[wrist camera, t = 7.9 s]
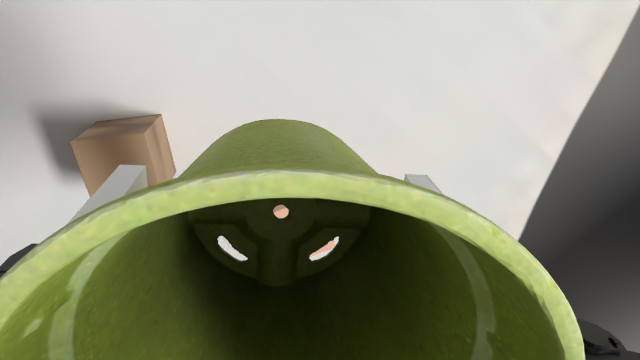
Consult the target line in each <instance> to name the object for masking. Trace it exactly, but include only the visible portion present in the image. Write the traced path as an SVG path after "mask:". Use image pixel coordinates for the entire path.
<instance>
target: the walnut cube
mask: <svg viewBox="0 0 640 360" xmlns="http://www.w3.org/2000/svg"><path fill="white" fill-rule="evenodd" d="M70 144H71V146H72V149H73V152H74V155H75V157H76V160H77V163H78V166H79V168H80V171H81V174H82V177H83V179H84V182H85V185H86V188H87V190H88V193H89V196H90V198H91V197H92V196H93V194H94V193H95V192H96V191H97V190H98V189H99V188H100V187H101V185H102V184H103V183H104V182H105V181H106V180H107V179H108V177H109V176H110V175H111V174H112V173H113V172H114V171H115V170H116V168H117V167H118V166H119V165H146V173H147V183H148V187H150V186H153V185H156V184H159V183H162V182H165V181H168V180H172V178H173V176H174V175H175V173H176V169H175V165H174V161H173V157H172V154H171V150H170V146H169V142H168V138H167V134H166V130H165V127H164V123H163V119H162V115H161V114H160V115H151V116H143V117H134V118H125V119H117V120H108V121H100V122H96V123H95V124H94V125H92V126H91V127H90V128H88V129H87V130H85V131H84V132H83V133H81V134H80V135H79V136H77V137H76V138H75V139H73V140H72V141H70Z"/></svg>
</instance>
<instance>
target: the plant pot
mask: <svg viewBox="0 0 640 360" xmlns="http://www.w3.org/2000/svg"><path fill="white" fill-rule="evenodd" d="M278 205H284V206H285V207H286V208H287V209H288V210H289V212H288V215H287V216H286V217H285V218H278V217H276V216H275V215H274V212H273V209H274V208H275V207H276V206H278ZM219 236H224V237H225V238H226V239H227V240H228V241H229V243H230V244H231V245H232V247H233V248H234V249H236V250H237V251H239V253H241V254H243V255H244V256H245V257H247V258H248V260H246V261H245V260H244V261H240V260H238V259H236V258H234V257H232V256H231V255H230V254H228V253H227V252H226V251H225V250H223V249H222V248H221V247H220V245H219V244H218V240H217V238H218V237H219ZM337 236H339V241H338V243H337V244H336V246H335V247H334V249H333V250H332V251H331V252H330V253H328V254H327V255H326V256H324V257H322V258H320V259H318V260H314V261H311V260H310V259H309V257H310V255H311V254H312V253H314V252H316V251H318V250H319V249H321V248H322V247H324V246H325V245H327V244H328V243H329V242H330V241H333V240H334V238H335V237H337ZM0 360H585V352H584V344H583V339H582V334H581V331H580V328H579V326H578V323H577V320H576V317H575V315H574V313H573V311H572V309H571V307H570V305H569V303H568V301H567V299H566V298H565V296H564V294H563V292H562V291H561V290H560V288H559V287H558V285H557V284H556V283H555V282H554V280H553V279H552V277H551V276H550V275H549V273H548V272H547V271H546V270H545V269H544V267H543V266H542V265H541V264H540V263H539V262H538V260H537V259H535V258H534V257H533V255H531V254H530V252H529V251H528V250H526V249H525V248H524V247H523V246H522V245H521V244H519V242H517V241H516V240H515V239H514V238H513V237H511V236H510V235H509V234H508V233H506V232H505V231H504V230H502V229H501V228H500V227H498V226H497V225H496V224H494V223H493V222H492V221H490V220H488V219H487V218H485V217H483V216H482V215H480V214H478V213H477V212H475V211H474V210H472V209H470V208H469V207H467V206H465V205H463V204H461V203H459V202H457V201H455V200H453V199H451V198H449V197H447V196H445V195H443V194H440V193H437V192H435V191H432V190H429V189H427V188H424V187H421V186H418V185H415V184H412V183H409V182H406V181H403V180H400V179H396V178H393V177H390V176H385V175H381V174H378V173H377V172H376V171H375V170H373V169H372V168H371V167H370V166H369V165H368V164H367V163H366V162H365V161H364V160H363V159H362V158H361V157H360V156H359V155H357V154H356V153H355V152H354V151H353V150H352V149H351V148H350V147H349V146H347V145H346V144H345V143H344V142H343V141H342V140H341V139H339V138H338V137H337V136H335V135H333V134H332V133H330V132H329V131H327V130H325V129H323V128H321V127H319V126H317V125H314V124H311V123H307V122H302V121H296V120H284V119H268V120H259V121H255V122H251V123H247V124H244V125H242V126H240V127H238V128H235V129H233V130H232V131H230V132H228V133H226V134H224V135H223V136H222V137H220V138H219V139H218V140H216V141H215V142H214V143H213V144H212V145H211V146H210V147H209V148H208V149H206V150H205V151H204V152H203V153H202V154H201V155H200V156H199V157H198V158H197V159H196V160H195V161H194V162H193V163H192V164H191V165H190V166H189V168H187V169H186V170H185V171H184V172H183V173H182V174H181V175H180V176H179V177H178V178H176V179H172V180H168V181H165V182H162V183H159V184H156V185H153V186H150V187H146V188H143V189H140V190H138V191H135V192H133V193H130V194H128V195H125V196H123V197H121V198H118V199H116V200H113V201H111V202H108V203H106V204H104V205H102V206H100V207H98V208H96V209H94V210H92V211H90V212H88V213H86V214H84V215H83V216H81V217H79V218H77V219H75V220H74V221H72V222H71V223H69V224H68V225H66V226H64V227H63V228H61V229H60V230H58V231H57V232H55V233H54V234H52V235H51V236H49V237H48V238H47V239H45V240H44V241H42V242H41V243H39V244H38V245H36V246H35V247H34V248H33V249H32V250H31V251H29V252H28V253H27V254H26V255H25V256H24V257H23V258H21V259H20V260H19V261H18V262H17V263H16V264H15V265H13V266H12V267H11V268H10V269H9V270H8V271H7V272H6V273H5V274H4V275H3V276H2V277H1V278H0Z"/></svg>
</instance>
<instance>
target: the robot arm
mask: <svg viewBox="0 0 640 360" xmlns="http://www.w3.org/2000/svg"><path fill="white" fill-rule="evenodd" d="M404 181H406V182H409V183H412V184H415V185H418V186H421V187H424V188H427V189H429V190H432V191H435V192H437V193H440V194H443V193H442V192H441V191H440V190H439V189H438V187H437V186H436V185H435V184H434V183H433V182H432V180H431V179H430V178H429V177H428V176H427V175H410V174H405V178H404ZM146 187H148V183H147V173H146V165H119V166H118V167H117V168H116V170H115V171H114V172H113V173H112V174H111V175H110V176H109V177H108V179H107V180H106V181H105V182H104V183H103V184H102V185H101V187H100V188H99V189H98V190H97V191H96V192H95V193H94V194H93V196H92V197H91V198H90V199H89V200H88V201H87V202H86V203H85V205H84V206H83V207H82V208H81V209H80V210H79V211H78V212H77V214H76V215H75V216H74V217H73V218H72V219H71V220H70V221H69V223H71V222H72V221H74V220H75V219H77V218H79V217H81V216H83V215H84V214H86V213H88V212H90V211H92V210H94V209H96V208H98V207H100V206H102V205H104V204H106V203H108V202H111V201H113V200H116V199H118V198H121V197H123V196H125V195H128V194H130V193H133V192H135V191H138V190H140V189H143V188H146ZM69 223H68V224H69ZM68 224H67V225H68ZM36 245H38V244H31V245H29V246H27V247H25V248H24V249H22V250H20V251H18V252H17V253H15V254H13V255H11V256H10V257H9V258H8V259H7V260H6V261H5V262H4V263H3V264H2V265H1V266H0V278H1V277H2V276H3V275H4V274H5V273H6V272H7V271H8V270H9V269H10V268H11V267H12V266H13V265H15V264H16V263H17V262H18V261H19V260H20V259H21V258H23V257H24V256H25V255H26V254H27V253H28V252H29V251H31V250H32V249H33V248H34V247H35V246H36ZM576 320H577V323H578V326H579V328H580V331H581V334H582V339H583V344H584V352H585V360H640V353H636V352H631V351H627V350H626V349H625V347H624V346H623V345H622V343H621V342H620V341H619V340H618V339H617V338H615V337H614V336H613V335H612V334H611V333H609V332H608V331H606V330H604V329H603V328H601V327H599V326H597V325H595V324H592V323H589V322H587V321H584V320H581V319H576Z"/></svg>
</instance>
